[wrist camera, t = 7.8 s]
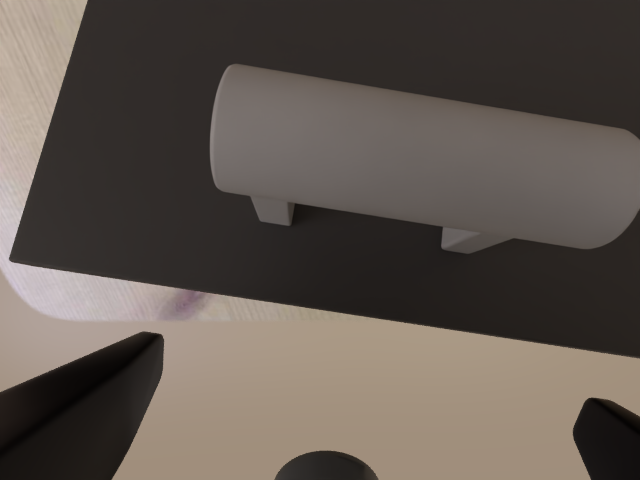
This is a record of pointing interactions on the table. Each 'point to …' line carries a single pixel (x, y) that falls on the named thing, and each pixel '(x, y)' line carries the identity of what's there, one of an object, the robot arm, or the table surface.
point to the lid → (357, 160)
